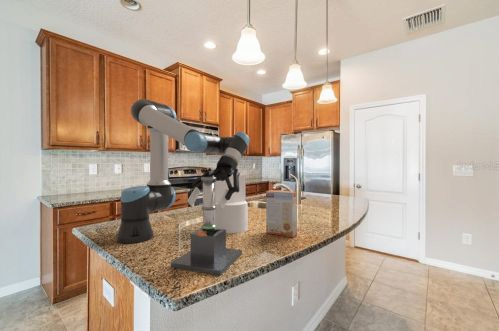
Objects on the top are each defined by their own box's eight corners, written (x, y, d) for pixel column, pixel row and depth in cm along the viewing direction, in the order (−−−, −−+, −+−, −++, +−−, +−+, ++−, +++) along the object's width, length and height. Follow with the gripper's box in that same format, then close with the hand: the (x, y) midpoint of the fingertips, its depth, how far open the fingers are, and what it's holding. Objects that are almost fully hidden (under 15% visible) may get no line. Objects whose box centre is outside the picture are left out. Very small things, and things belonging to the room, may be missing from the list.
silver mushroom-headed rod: (198, 241, 80) (198, 177, 80) (205, 237, 85) (205, 176, 85) (211, 243, 78) (211, 177, 78) (218, 238, 83) (218, 177, 83)
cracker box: (297, 234, 111) (297, 191, 111) (292, 238, 106) (292, 192, 106) (271, 230, 119) (271, 189, 119) (265, 233, 114) (265, 190, 114)
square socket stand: (170, 267, 76) (170, 232, 76) (199, 248, 93) (199, 220, 93) (220, 275, 70) (220, 238, 70) (241, 254, 87) (241, 224, 87)
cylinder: (209, 227, 126) (209, 175, 126) (238, 223, 134) (238, 174, 134) (222, 235, 111) (222, 176, 111) (253, 230, 119) (253, 175, 119)
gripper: (260, 168, 89) (239, 215, 76) (208, 168, 101) (183, 208, 88) (253, 154, 84) (230, 201, 71) (200, 155, 97) (172, 196, 83)
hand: (204, 205), depth 80 cm, fingers open, 13 cm apart
